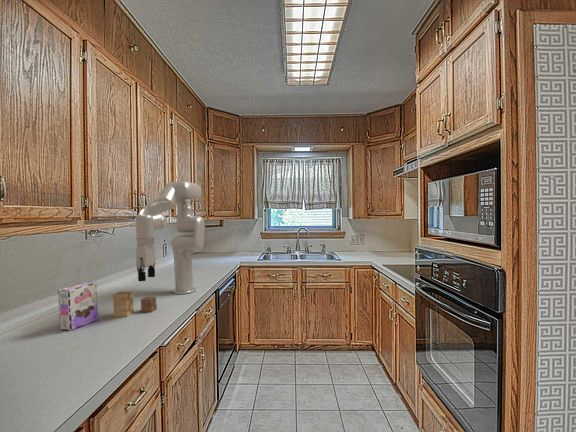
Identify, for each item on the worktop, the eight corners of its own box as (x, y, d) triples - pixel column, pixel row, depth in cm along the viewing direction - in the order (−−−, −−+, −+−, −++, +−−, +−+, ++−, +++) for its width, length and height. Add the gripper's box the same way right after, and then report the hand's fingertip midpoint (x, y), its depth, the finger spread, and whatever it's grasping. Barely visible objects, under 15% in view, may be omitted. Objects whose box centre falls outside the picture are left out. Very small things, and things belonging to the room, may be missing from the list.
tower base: (121, 313, 169) (120, 302, 169) (133, 312, 169) (133, 302, 168) (114, 317, 163) (113, 306, 163) (127, 317, 163) (126, 305, 162)
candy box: (70, 331, 146) (68, 290, 146) (59, 330, 148) (57, 289, 147) (98, 320, 159) (96, 282, 159) (88, 319, 161) (86, 282, 161)
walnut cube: (146, 309, 174) (145, 296, 174) (156, 309, 173) (156, 296, 173) (141, 312, 169) (140, 299, 169) (152, 312, 168) (151, 299, 168)
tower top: (120, 302, 169) (119, 291, 169) (133, 302, 168) (132, 291, 168) (113, 306, 163) (112, 294, 163) (126, 305, 163) (126, 294, 162)
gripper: (145, 240, 179) (147, 275, 179) (128, 243, 161) (129, 282, 162) (161, 240, 178) (162, 275, 179) (144, 243, 161) (146, 282, 161)
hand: (146, 278), depth 170 cm, fingers open, 9 cm apart
